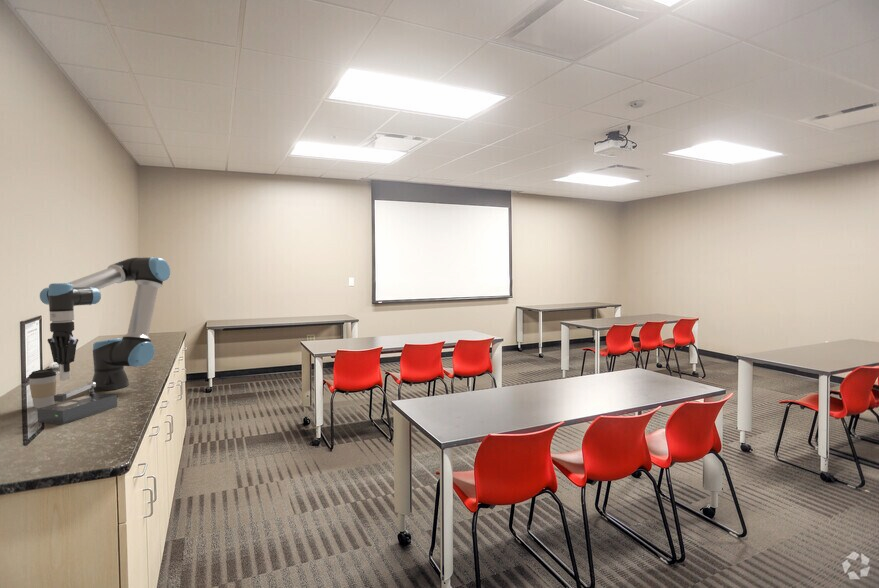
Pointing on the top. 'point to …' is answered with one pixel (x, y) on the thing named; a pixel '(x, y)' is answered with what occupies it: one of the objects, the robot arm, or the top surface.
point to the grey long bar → (74, 391)
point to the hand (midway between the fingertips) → (64, 379)
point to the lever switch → (77, 408)
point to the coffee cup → (43, 387)
